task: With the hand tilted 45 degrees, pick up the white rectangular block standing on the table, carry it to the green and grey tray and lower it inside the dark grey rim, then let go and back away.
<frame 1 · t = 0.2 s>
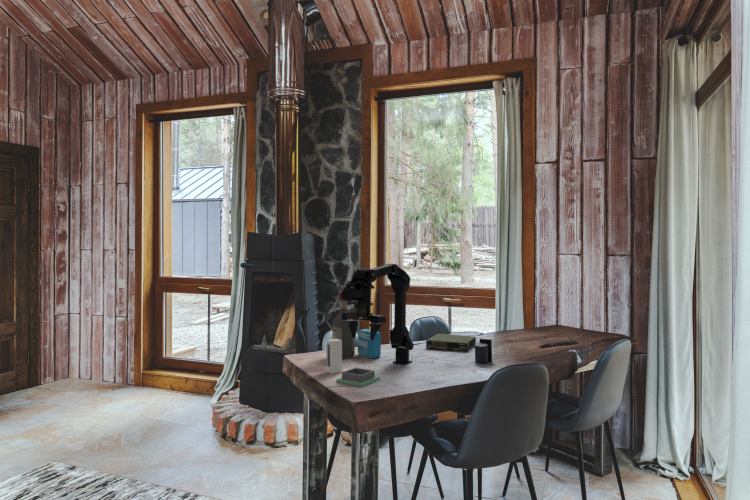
hand: (362, 339, 195), 14 cm above the table, tool pointing down, fingers open, 9 cm apart
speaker: (483, 363, 217), on the table
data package: (369, 356, 231), on the table
green and grey tray: (358, 380, 187), on the table
white rectangular block: (334, 371, 201), on the table
network switch: (451, 347, 253), on the table
liquor: (343, 357, 229), on the table
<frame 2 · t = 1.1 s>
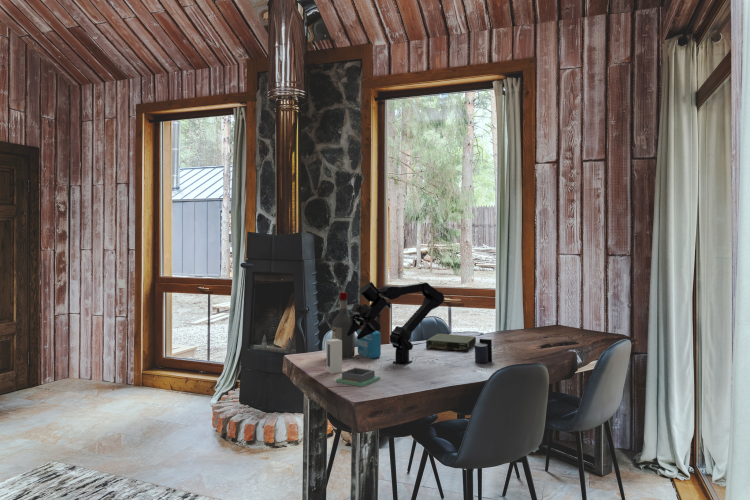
hand: (352, 337, 205), 13 cm above the table, tool tilted 45°, fingers open, 9 cm apart
nothing on the table moved.
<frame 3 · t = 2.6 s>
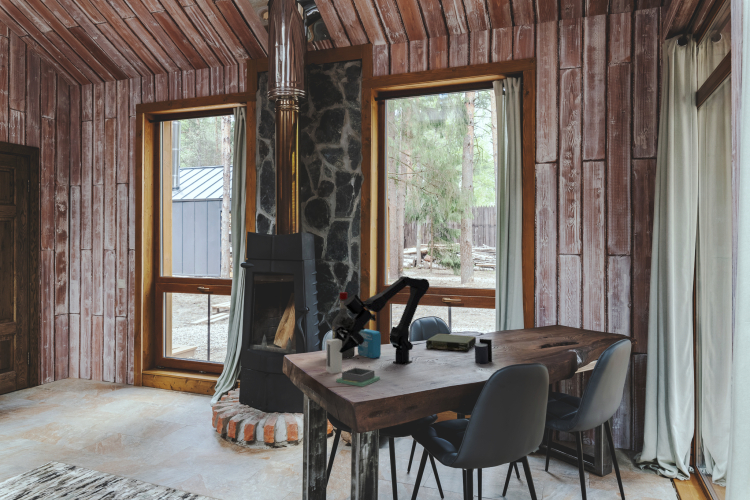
hand: (335, 350, 201), 9 cm above the table, tool tilted 45°, fingers open, 9 cm apart
nothing on the table moved.
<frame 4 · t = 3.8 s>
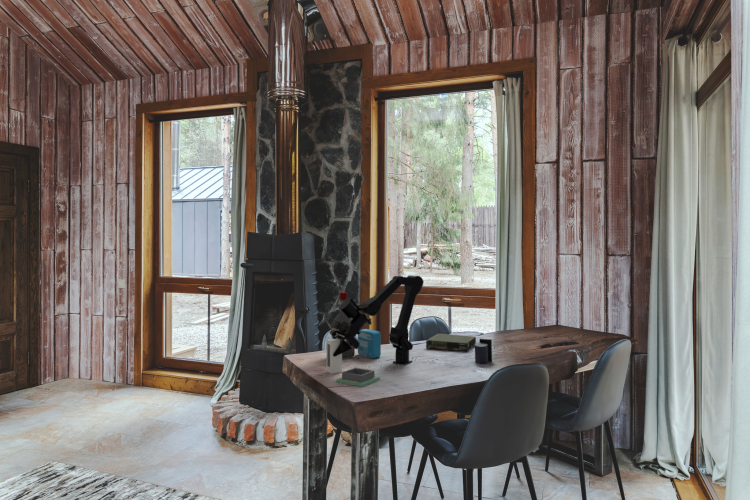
hand: (331, 354, 200), 7 cm above the table, tool tilted 45°, fingers closed on white rectangular block, 5 cm apart
white rectangular block: (334, 371, 201), on the table, touching gripper
everything else where it was.
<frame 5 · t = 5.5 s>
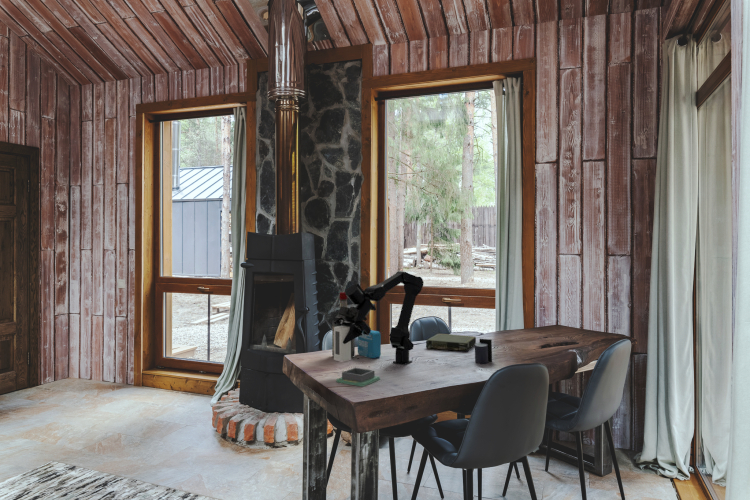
hand: (339, 342, 193), 14 cm above the table, tool tilted 45°, fingers closed on white rectangular block, 5 cm apart
white rectangular block: (342, 359, 194), point 6 cm above the table, touching gripper
everything else where it was.
when the fingers open (9 cm above the table, at t = 7.5 s): white rectangular block drops 1 cm, resting on green and grey tray.
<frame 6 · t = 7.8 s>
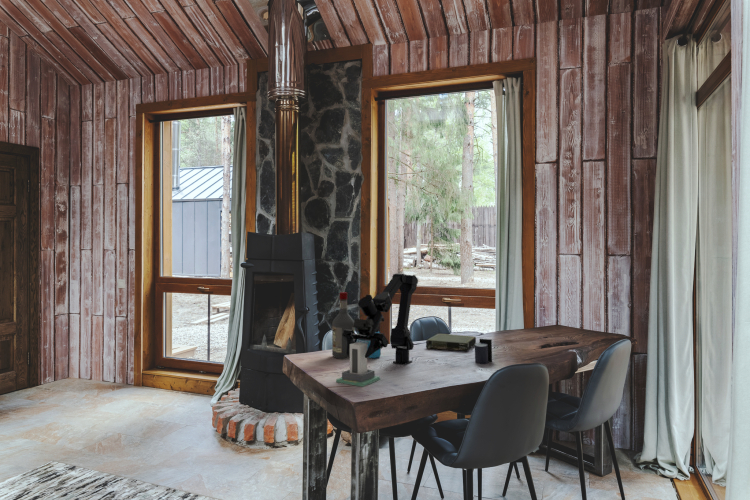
hand: (356, 356, 186), 10 cm above the table, tool tilted 45°, fingers open, 8 cm apart
white rectangular block: (358, 377, 188), point 1 cm above the table, touching green and grey tray
everything else where it was.
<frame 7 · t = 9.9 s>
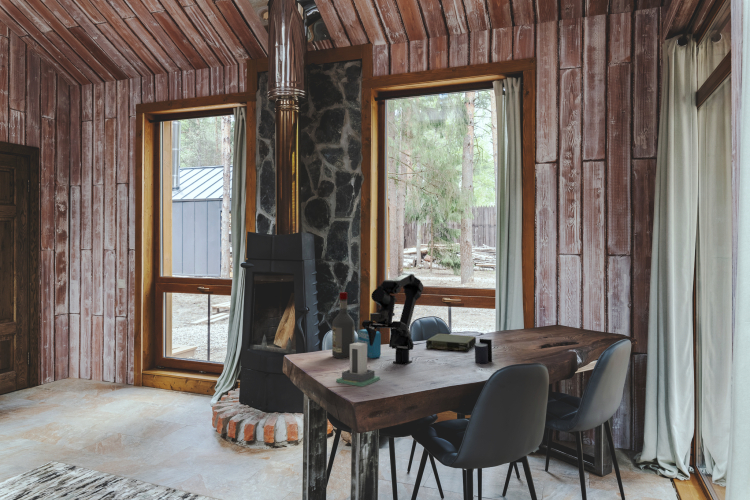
hand: (380, 346, 198), 11 cm above the table, tool tilted 25°, fingers open, 9 cm apart
nothing on the table moved.
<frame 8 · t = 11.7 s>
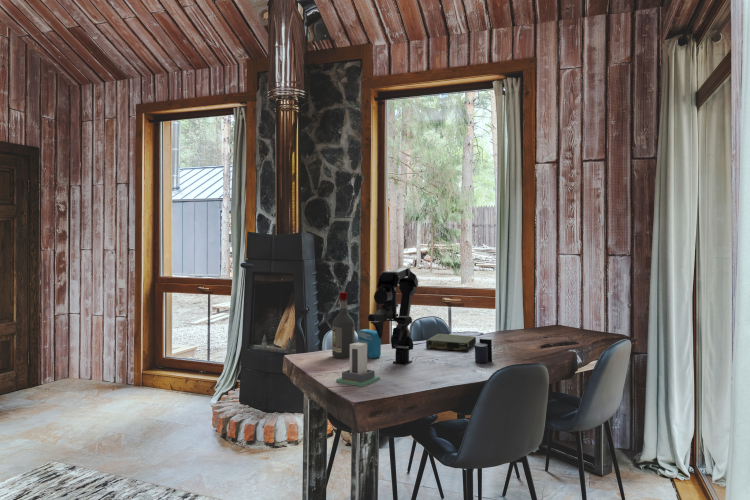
hand: (389, 339, 202), 13 cm above the table, tool pointing down, fingers open, 9 cm apart
nothing on the table moved.
at the end: white rectangular block 0.1 cm off-centre on the green and grey tray, point 1.0 cm above the green and grey tray's base; white rectangular block tilted 0°; the gripper is holding nothing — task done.
